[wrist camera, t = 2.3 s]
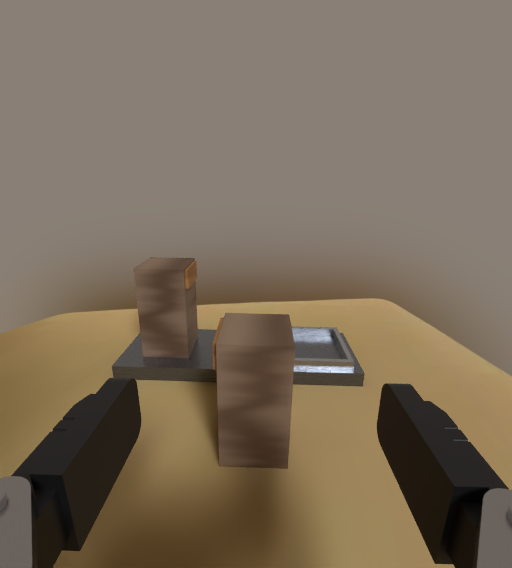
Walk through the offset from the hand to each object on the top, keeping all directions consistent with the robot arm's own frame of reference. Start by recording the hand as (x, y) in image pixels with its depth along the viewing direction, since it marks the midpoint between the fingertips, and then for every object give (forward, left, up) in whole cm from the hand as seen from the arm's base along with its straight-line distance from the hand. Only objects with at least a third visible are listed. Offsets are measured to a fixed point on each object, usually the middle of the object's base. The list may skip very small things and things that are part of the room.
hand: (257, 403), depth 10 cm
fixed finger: (-10, +23, -11) cm, 28 cm away
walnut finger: (0, +11, -13) cm, 17 cm away
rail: (-2, +23, -13) cm, 27 cm away
